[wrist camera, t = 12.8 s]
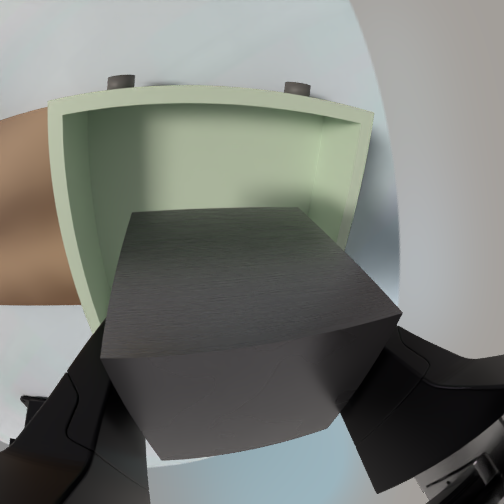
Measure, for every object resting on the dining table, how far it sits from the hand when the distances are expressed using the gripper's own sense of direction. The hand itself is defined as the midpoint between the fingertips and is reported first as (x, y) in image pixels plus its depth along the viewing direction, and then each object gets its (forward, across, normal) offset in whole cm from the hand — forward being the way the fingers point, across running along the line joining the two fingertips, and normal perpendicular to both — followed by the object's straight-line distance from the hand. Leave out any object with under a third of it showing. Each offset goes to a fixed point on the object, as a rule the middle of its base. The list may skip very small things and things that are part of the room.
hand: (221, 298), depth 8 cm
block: (+1, 0, 0) cm, 1 cm away
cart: (+7, 0, 0) cm, 7 cm away
